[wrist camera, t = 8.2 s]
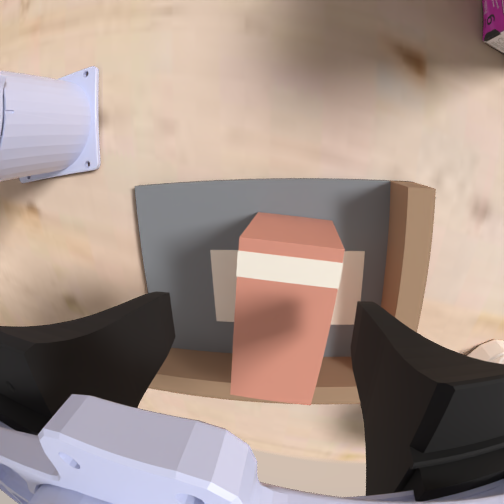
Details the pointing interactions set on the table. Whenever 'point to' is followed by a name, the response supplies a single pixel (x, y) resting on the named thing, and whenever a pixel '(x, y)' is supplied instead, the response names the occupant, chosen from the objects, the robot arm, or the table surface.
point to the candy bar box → (493, 24)
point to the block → (284, 306)
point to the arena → (225, 266)
